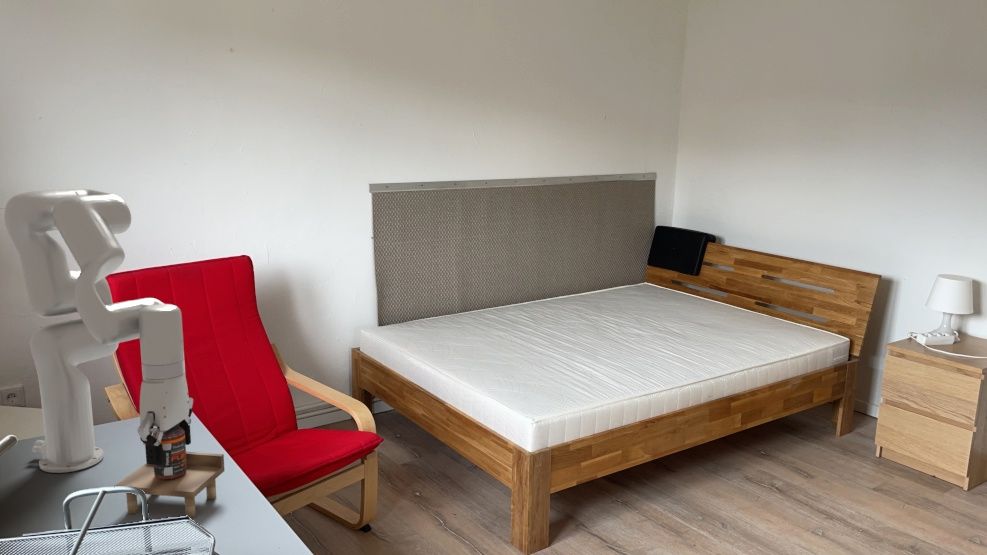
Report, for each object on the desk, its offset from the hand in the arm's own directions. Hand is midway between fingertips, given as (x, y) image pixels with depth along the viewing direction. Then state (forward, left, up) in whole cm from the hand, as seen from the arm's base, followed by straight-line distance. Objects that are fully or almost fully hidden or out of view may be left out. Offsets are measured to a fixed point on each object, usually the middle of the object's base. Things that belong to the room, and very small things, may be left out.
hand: (169, 453), depth 150 cm
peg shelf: (0, 0, -11) cm, 11 cm away
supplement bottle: (0, 0, -5) cm, 5 cm away
